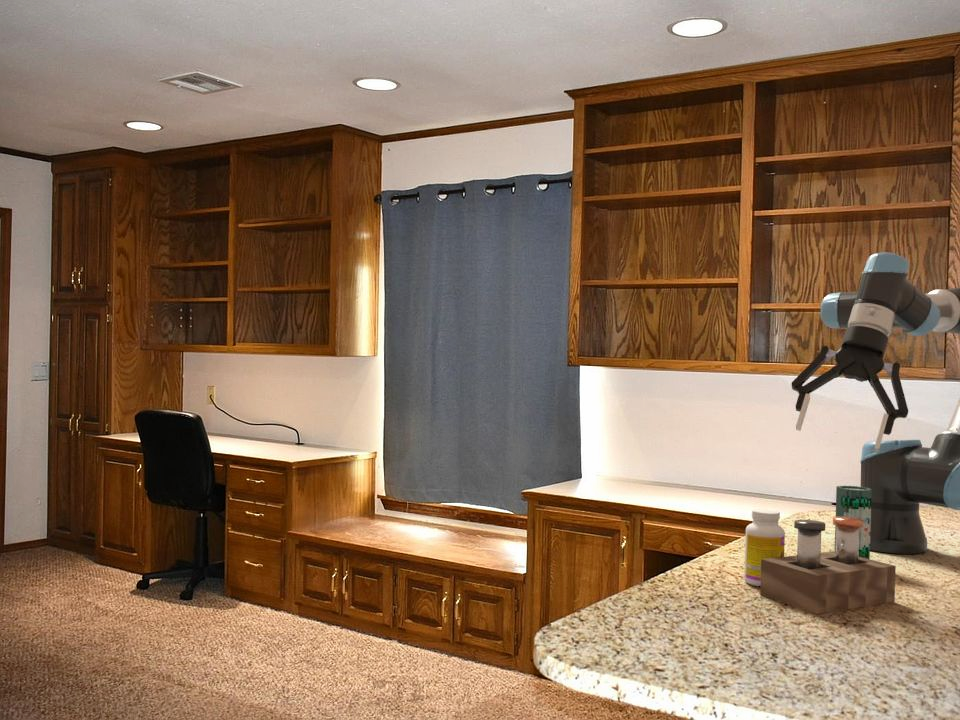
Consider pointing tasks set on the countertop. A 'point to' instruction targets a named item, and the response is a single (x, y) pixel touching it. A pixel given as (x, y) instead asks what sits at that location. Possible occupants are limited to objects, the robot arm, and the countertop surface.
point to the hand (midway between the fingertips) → (836, 439)
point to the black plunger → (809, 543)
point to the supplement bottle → (762, 542)
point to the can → (856, 512)
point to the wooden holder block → (828, 583)
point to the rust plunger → (847, 539)
